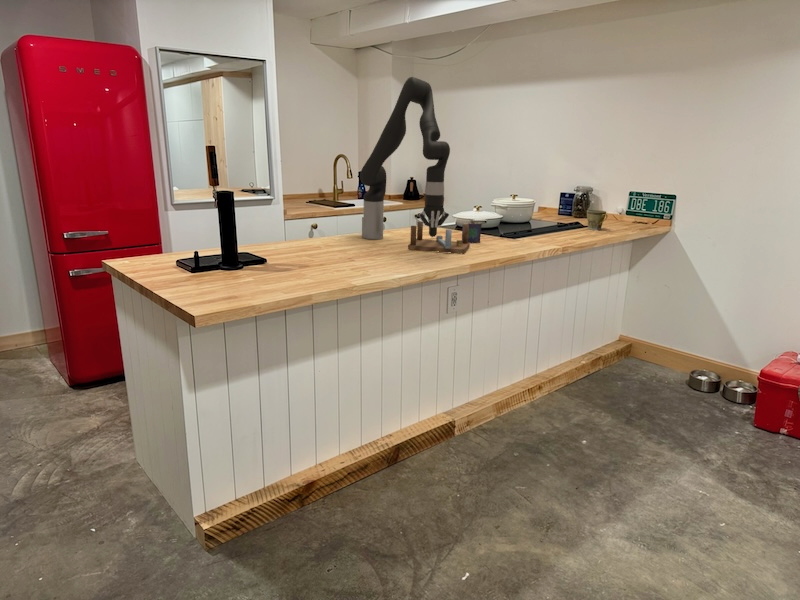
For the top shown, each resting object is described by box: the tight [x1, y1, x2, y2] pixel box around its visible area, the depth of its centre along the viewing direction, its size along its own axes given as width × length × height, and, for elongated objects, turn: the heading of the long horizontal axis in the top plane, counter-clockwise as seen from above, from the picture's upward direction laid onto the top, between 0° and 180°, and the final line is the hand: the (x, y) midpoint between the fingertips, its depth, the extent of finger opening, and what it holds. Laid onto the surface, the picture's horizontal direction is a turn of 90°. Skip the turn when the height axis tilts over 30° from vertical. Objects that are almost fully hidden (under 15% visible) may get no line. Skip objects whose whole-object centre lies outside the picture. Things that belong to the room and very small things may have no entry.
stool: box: [407, 220, 471, 255], centre depth 241 cm, size 24×16×10 cm, turn 75°
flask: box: [461, 218, 482, 244], centre depth 256 cm, size 9×3×11 cm, turn 109°
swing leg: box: [435, 228, 453, 249], centre depth 238 cm, size 18×3×8 cm, turn 9°
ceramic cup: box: [586, 209, 608, 231], centre depth 300 cm, size 13×10×10 cm
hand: (432, 236), depth 228 cm, fingers closed
